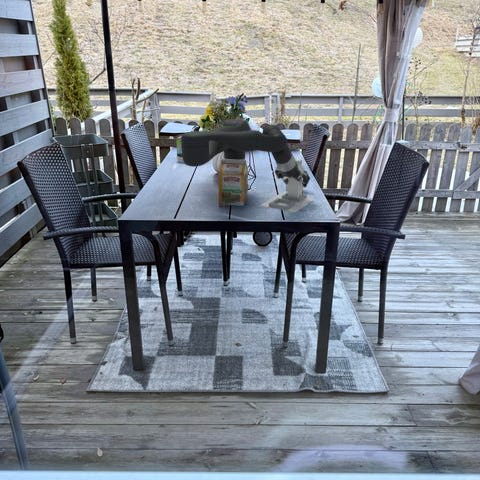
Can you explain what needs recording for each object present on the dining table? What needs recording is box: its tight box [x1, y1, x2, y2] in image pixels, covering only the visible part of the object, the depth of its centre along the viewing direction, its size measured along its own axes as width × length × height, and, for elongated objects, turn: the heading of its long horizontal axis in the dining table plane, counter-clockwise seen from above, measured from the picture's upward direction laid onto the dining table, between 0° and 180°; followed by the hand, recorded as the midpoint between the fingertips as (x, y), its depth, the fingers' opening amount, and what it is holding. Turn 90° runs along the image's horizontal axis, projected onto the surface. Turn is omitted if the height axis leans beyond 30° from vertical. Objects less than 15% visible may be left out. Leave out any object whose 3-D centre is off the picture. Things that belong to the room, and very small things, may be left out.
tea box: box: [175, 135, 185, 164], centre depth 245 cm, size 15×10×15 cm, turn 73°
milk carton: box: [217, 158, 249, 208], centre depth 175 cm, size 11×11×19 cm
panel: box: [259, 191, 316, 213], centre depth 177 cm, size 21×16×3 cm
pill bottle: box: [285, 157, 306, 192], centre depth 193 cm, size 8×8×15 cm
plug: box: [287, 177, 303, 198], centre depth 180 cm, size 4×5×10 cm
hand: (296, 184), depth 181 cm, fingers open, 8 cm apart
